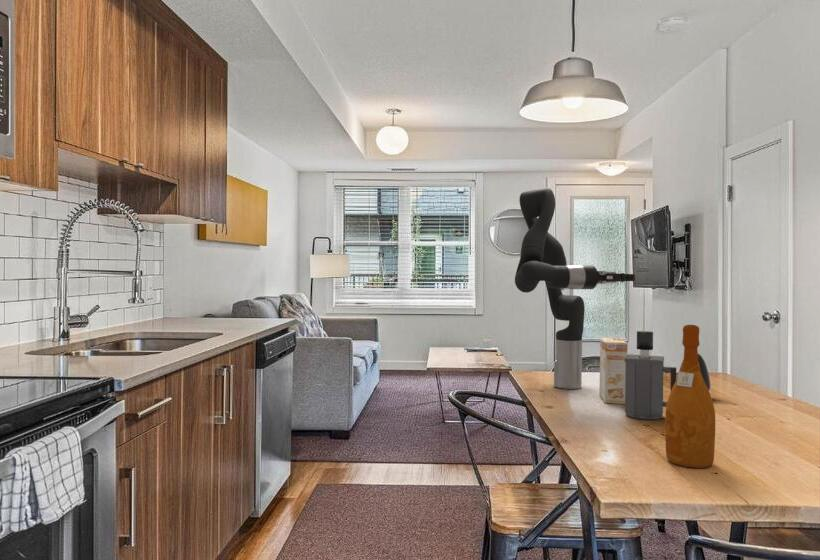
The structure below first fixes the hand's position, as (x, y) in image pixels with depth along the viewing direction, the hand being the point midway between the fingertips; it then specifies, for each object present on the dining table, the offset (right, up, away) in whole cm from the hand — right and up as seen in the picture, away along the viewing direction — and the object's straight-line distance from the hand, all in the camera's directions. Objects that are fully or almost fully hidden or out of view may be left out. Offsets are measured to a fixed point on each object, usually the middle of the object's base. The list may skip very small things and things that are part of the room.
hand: (626, 277), depth 190 cm
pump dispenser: (+26, -40, +11) cm, 49 cm away
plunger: (-1, -39, -16) cm, 42 cm away
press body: (+1, -40, -17) cm, 44 cm away
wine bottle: (-8, -41, -59) cm, 72 cm away
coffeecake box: (-2, -40, +8) cm, 41 cm away
